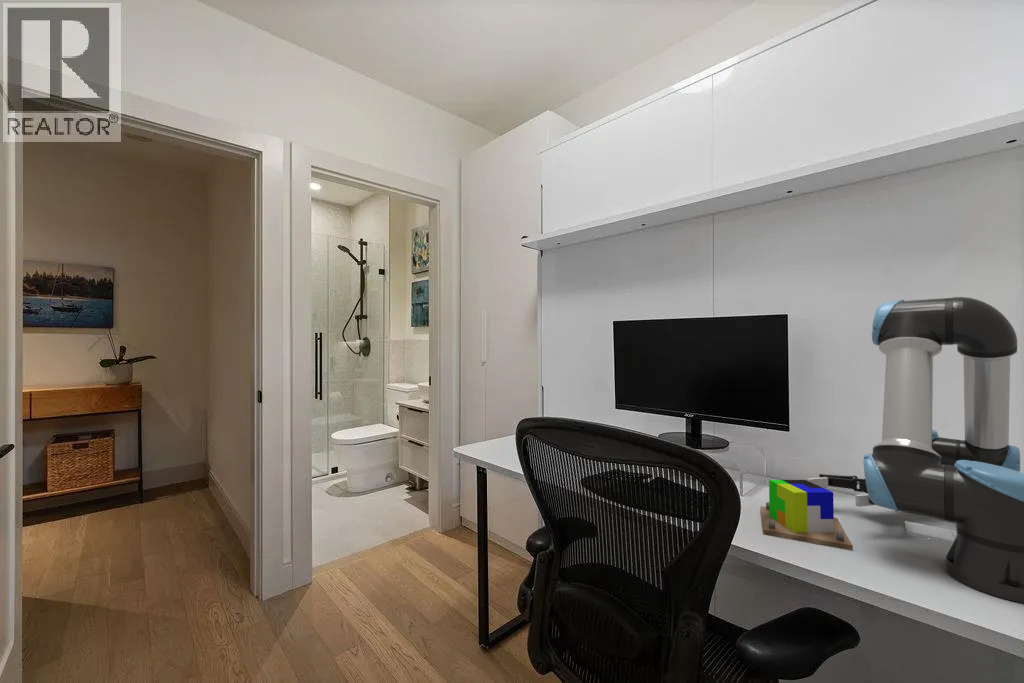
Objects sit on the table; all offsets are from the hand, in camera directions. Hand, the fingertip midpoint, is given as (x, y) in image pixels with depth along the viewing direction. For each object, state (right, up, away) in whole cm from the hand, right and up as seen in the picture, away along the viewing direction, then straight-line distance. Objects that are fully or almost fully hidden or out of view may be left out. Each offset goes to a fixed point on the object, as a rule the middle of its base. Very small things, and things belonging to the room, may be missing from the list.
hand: (831, 491), depth 113 cm
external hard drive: (+22, -10, -7) cm, 25 cm away
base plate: (-9, -9, -2) cm, 13 cm away
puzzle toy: (-10, -8, -2) cm, 13 cm away
